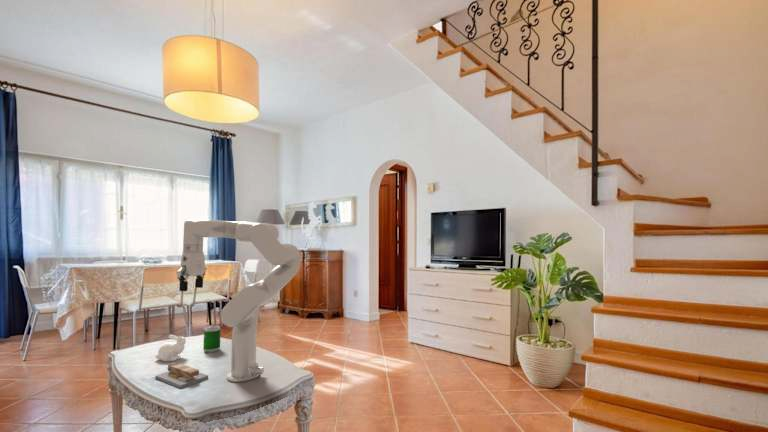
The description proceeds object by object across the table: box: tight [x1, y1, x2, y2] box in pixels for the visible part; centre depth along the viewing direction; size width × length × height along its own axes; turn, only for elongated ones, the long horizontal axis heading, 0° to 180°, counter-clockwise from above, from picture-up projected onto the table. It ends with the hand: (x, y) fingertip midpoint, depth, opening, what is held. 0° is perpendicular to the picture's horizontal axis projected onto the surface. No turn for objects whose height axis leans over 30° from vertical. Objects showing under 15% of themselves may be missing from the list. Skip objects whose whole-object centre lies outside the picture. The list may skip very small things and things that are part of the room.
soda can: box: [202, 324, 221, 353], centre depth 177 cm, size 8×8×12 cm
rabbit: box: [154, 334, 187, 362], centre depth 164 cm, size 12×9×12 cm
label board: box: [155, 370, 209, 390], centre depth 142 cm, size 18×11×2 cm, turn 59°
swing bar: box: [167, 362, 200, 378], centre depth 143 cm, size 17×4×2 cm, turn 59°
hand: (191, 289), depth 150 cm, fingers open, 9 cm apart
